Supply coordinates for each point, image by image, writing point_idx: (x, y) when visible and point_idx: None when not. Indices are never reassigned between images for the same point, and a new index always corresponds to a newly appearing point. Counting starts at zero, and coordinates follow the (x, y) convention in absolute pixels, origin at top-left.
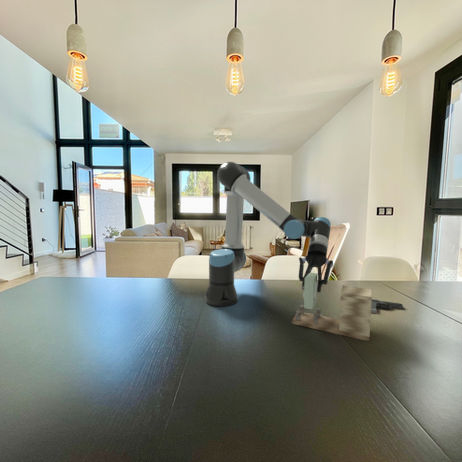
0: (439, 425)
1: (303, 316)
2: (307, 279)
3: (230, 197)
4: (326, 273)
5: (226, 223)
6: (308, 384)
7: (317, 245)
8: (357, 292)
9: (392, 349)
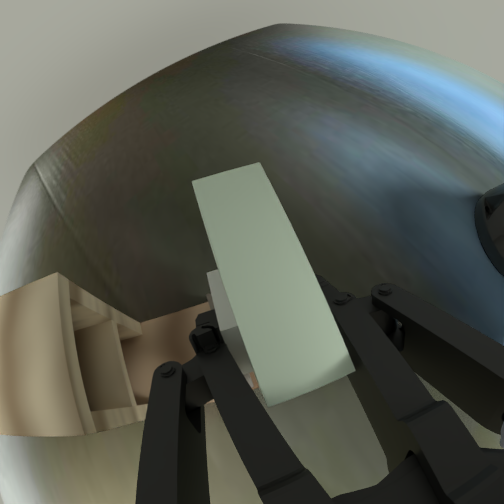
0: (25, 190)
1: None
2: (237, 173)
3: None
4: (160, 430)
5: None
6: (147, 130)
7: None
8: (7, 334)
9: None
